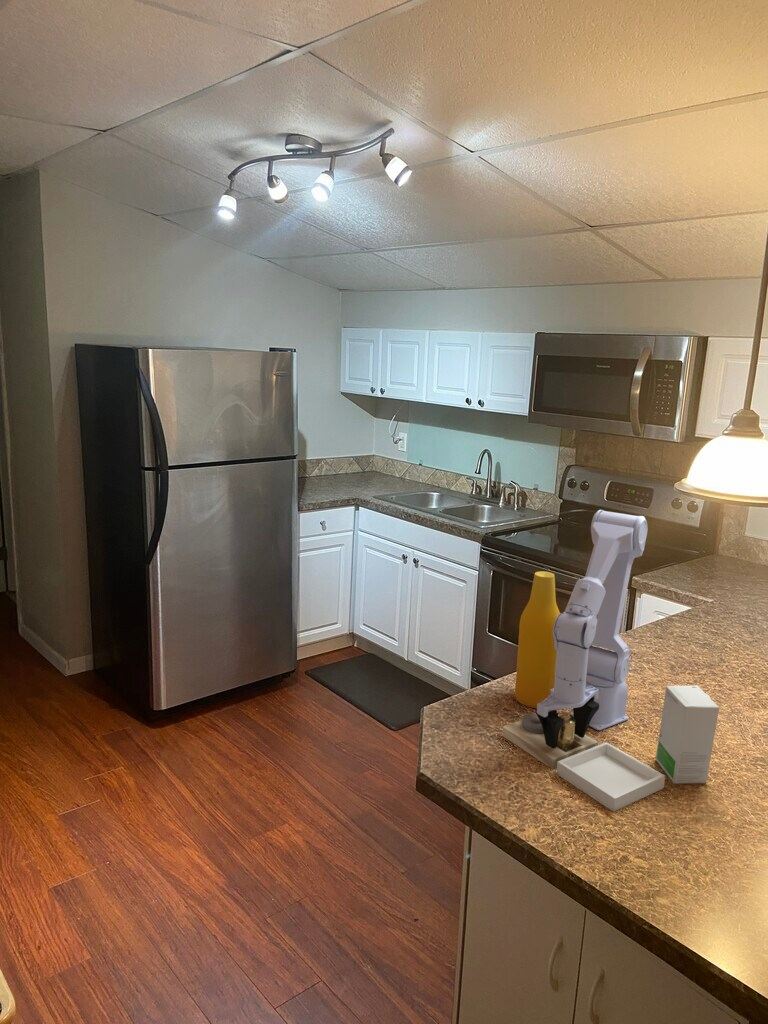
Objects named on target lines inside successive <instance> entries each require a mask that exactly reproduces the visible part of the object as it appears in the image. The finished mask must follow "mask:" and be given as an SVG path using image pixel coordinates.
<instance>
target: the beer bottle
mask: <svg viewBox="0 0 768 1024" xmlns="http://www.w3.org/2000/svg"><path fill="white" fill-rule="evenodd" d="M555 579H556V578H555V573H552V572H549V571H544V570H543V571H542V570H541V571H535V573H534V575H533V582H532V586H531V593H530V597H529V600H528V602H527V604H526V606H525V607H524V609H523V610H522V613H521V615H520V619H519V628H518V629H519V630H518V631H519V632H518V646H517V658H516V660H517V661H516V673H515V685H514V695H515V699H516V700H517V702H518V703H519V704H522V705H523V706H524V707H528V708H533V709H536V708H537V704H538V703H541V702H542V701H544V700H545V699H546V698H547V697H548V696H550V695H551V693H550V691H551V689H553V688H554V681H555V668H556V655H557V651H556V650H555V648H554V644H555V642H554V638H553V628H554V623H555V620H556V618H557V616H558V615H559V614H560V613H561V612H560V610H559V608H558V605H557V601H556V600H557V599H556V580H555Z"/></svg>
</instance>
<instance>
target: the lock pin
mask: <svg viewBox="0 0 768 1024" xmlns="http://www.w3.org/2000/svg"><path fill="white" fill-rule="evenodd" d="M559 717H561V718H563V719H564V722H563V724H562V726H561V728H560V731H559V736H558V743H557V746H556V747H558V748H559V749H561V750H563V751H564V752H567V751H570V750H572V749H573V744H574V733H575V719H574V717H573V716H571V715H570V716H569V715H560V716H559Z"/></svg>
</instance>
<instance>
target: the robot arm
mask: <svg viewBox="0 0 768 1024" xmlns="http://www.w3.org/2000/svg"><path fill="white" fill-rule="evenodd" d="M590 534H591V540H592V544H593V548H592V552H591V556H590V558H589V562H588V565H587V568H586V572H585V576H584V577H583V578H580V579H578V580H577V581H576V583H575V585H574V588H573V590H572V593H571V595H570V597H569V599H568V603H566V604H567V605H566V607H565V609H564V611H563V612H560V614H559V615H558V616H557V618H556V620H555V623H554V628H553V638H554V642H555V644H554V648H555V650H556V651H557V655H556V668H555V681H554V688H553V689H551V691H550V693H551V695H550V696H548V697H547V698H546V699H545V700H544V701H542V702H541V703H538V704H537V708H535V714H537V716H538V718H539V720H540V722H541V725H542V728H543V732H544V736H545V742H546V745H548V746H549V747H551V748H553V749H554V748H556V746H557V743H558V736H559V731H560V728H561V726H562V724H563V722H564V719H563V718H561V717H560V716H559V713H558V711H560V710H566V709H572V711H570V717H572V718H574V719H575V733H574V734H576V735H578V736H579V737H581V738H583V737H584V736H585V735H586V734H587V730H588V728H589V727H591V728H592V729H594V730H597V731H602V730H604V729H607V728H609V727H613V726H615V725H617V724H620V723H623V722H626V721H628V720H629V716H627V713H626V712H627V705H628V703H627V702H628V695H629V690H628V689H629V688H628V684H627V682H626V679H627V677H628V674H629V669H630V652H631V651H630V647H629V645H628V644H627V643H626V642H625V641H624V640H623V639H622V638H621V636H620V635H619V634H620V629H621V624H622V618H623V613H624V608H625V602H626V597H627V592H628V586H629V581H630V576H631V572H632V571H631V570H632V567H633V566H632V565H633V563H634V560H635V558H640V557H642V556H643V554H644V553H643V552H644V551H645V546H646V541H647V540H646V539H647V537H648V522H647V519H646V517H645V515H644V516H643V515H634V514H633V515H632V514H626V513H620V512H613V511H608V510H607V511H606V510H604V509H599V510H597V511H596V512H595V513H594V514H593V516H592V520H591V525H590Z"/></svg>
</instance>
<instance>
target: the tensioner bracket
mask: <svg viewBox="0 0 768 1024" xmlns="http://www.w3.org/2000/svg"><path fill="white" fill-rule="evenodd" d="M501 733H502V734H501V736H502V737H503V738H505V739H507V740H508V741H510V742H511V743H513V744H514V745H516V746H517V747H519V748H520V749H521V750H523V751H524V752H527V753H528V754H529V755H531V756H532V757H534V758H535V759H537V761H540V762H542V763H543V764H544V765H546V766H547V767H549V768H551V769H552V770H555V769H557V762H558V761H560V760H563V759H565V758H568V757H570V756H573V755H575V754H578V753H580V752H583V751H585V750H588V749H590V748H593V747H595V746H598V745H599V741H597V740H596V739H594V738H592V737H590V736H589V735H587V734H585V736H584V737H583V738H581V737H579V736H578V735H576V734H574V744H573V749H572V750H570V751H567V752H564V751H563V750H561V749H559V748H558V747H556V748H554V749H553V748H551V747H549V746H548V745H546V742H545V736H544V732H543V728H542V725H541V722H540V720H539V718H538V716H537V714H536V713H528V714H525V715H524V716H523V717H522V718H521V720H518V721H516V722H513V723H510V724H506V725H504V726H502V732H501Z"/></svg>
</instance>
